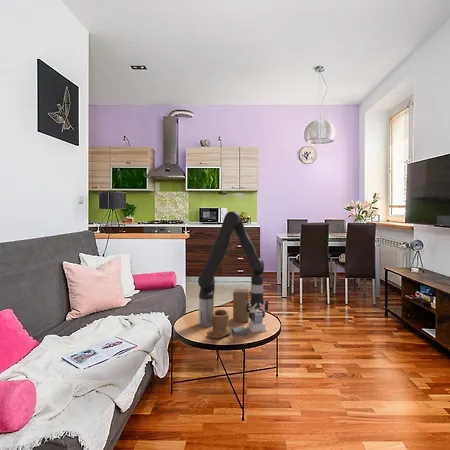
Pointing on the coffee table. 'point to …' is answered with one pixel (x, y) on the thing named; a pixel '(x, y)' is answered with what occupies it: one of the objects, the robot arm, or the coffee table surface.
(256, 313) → the housing
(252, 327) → the stand
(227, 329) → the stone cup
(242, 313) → the block
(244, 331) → the stand
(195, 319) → the coffee table surface
